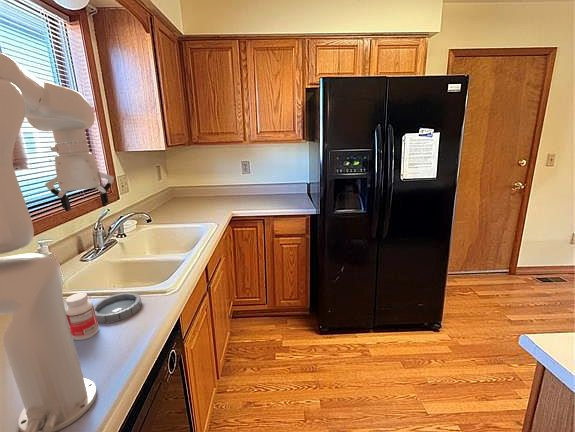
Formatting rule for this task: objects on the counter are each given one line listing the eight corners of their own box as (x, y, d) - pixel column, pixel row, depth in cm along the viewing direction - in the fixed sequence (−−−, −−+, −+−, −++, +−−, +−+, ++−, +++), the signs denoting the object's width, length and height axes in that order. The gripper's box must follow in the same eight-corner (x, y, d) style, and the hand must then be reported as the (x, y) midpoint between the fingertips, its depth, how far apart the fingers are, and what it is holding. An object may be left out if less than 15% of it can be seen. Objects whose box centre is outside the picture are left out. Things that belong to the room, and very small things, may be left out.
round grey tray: (138, 316, 93) (136, 309, 92) (87, 326, 89) (85, 320, 89) (143, 295, 105) (142, 289, 104) (99, 304, 101) (97, 297, 101)
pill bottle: (80, 328, 89) (70, 292, 86) (103, 325, 89) (94, 289, 87) (67, 342, 83) (57, 304, 80) (92, 339, 84) (82, 301, 81)
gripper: (31, 152, 85) (48, 215, 89) (104, 147, 90) (117, 206, 95) (41, 151, 92) (57, 209, 96) (109, 146, 97) (120, 201, 102)
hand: (87, 207), depth 96 cm, fingers open, 9 cm apart
